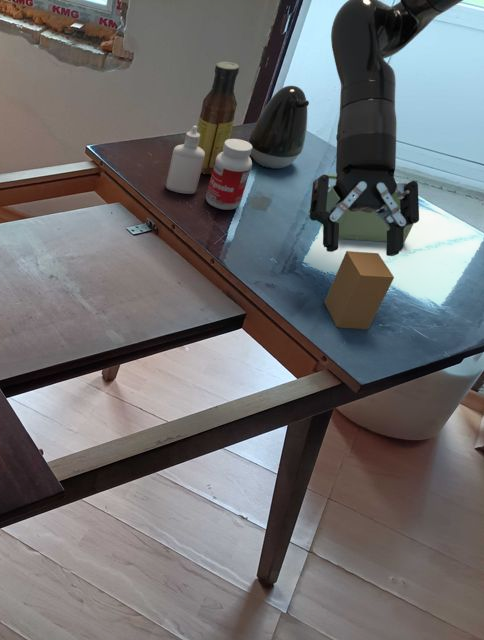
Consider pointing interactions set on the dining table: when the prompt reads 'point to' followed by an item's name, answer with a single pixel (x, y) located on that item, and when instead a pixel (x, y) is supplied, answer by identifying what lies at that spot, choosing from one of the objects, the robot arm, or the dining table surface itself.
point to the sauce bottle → (217, 114)
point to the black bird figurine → (280, 129)
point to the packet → (358, 290)
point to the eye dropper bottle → (186, 165)
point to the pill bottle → (230, 175)
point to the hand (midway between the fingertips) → (362, 252)
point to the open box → (361, 221)
